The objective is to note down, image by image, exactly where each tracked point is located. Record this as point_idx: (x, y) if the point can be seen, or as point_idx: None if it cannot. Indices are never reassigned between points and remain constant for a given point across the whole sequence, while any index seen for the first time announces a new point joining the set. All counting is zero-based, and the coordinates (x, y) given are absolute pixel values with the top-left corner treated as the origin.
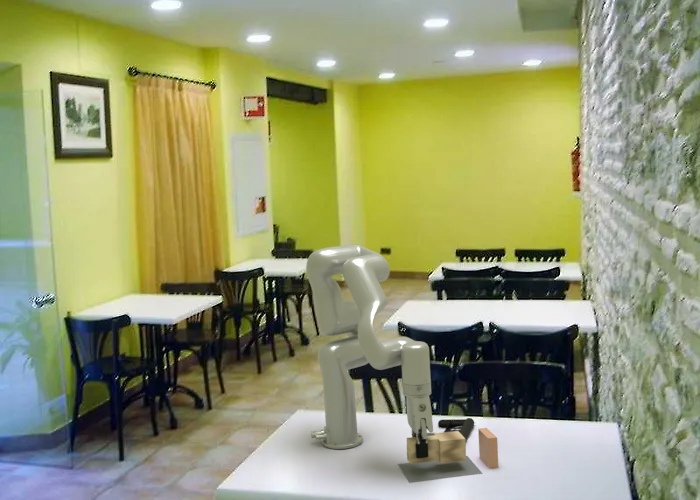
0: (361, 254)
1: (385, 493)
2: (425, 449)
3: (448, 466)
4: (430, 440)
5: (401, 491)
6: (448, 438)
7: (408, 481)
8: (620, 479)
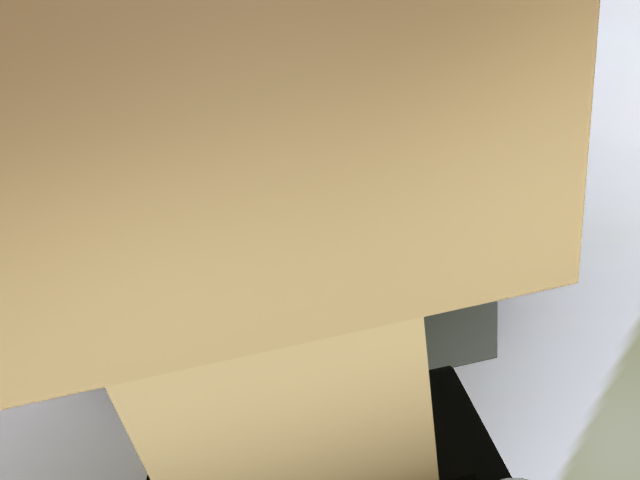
0: None
1: (561, 451)
2: (477, 419)
3: None
4: (432, 453)
5: (568, 382)
6: (414, 17)
7: (476, 361)
8: None
